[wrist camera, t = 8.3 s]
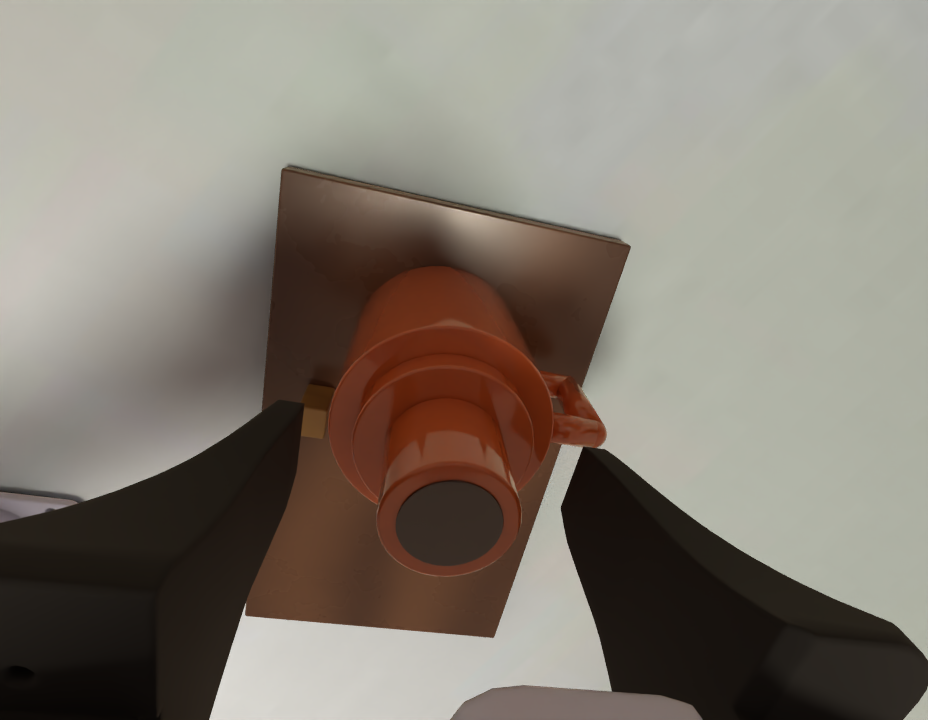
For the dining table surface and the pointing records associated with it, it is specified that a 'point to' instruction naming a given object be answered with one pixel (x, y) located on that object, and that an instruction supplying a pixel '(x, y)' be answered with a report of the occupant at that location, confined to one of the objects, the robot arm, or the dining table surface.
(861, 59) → the dining table surface
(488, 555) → the jug
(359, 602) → the stand
